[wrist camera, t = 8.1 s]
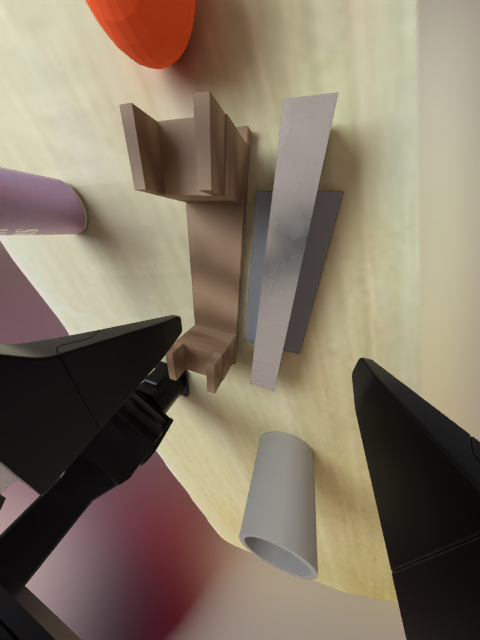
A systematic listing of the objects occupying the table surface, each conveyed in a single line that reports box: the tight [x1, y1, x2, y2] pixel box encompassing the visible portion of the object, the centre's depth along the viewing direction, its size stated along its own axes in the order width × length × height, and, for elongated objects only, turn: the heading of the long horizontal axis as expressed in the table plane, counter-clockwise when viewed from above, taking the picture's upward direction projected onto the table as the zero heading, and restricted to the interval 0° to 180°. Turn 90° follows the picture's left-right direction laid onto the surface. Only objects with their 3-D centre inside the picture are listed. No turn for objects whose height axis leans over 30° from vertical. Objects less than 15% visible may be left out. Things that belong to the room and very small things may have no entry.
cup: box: [239, 432, 318, 579], centre depth 26 cm, size 9×9×12 cm
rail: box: [250, 92, 339, 391], centre depth 17 cm, size 24×3×3 cm, turn 177°
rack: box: [120, 91, 251, 394], centre depth 18 cm, size 24×6×7 cm, turn 177°
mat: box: [244, 191, 344, 354], centre depth 18 cm, size 16×7×1 cm, turn 177°
